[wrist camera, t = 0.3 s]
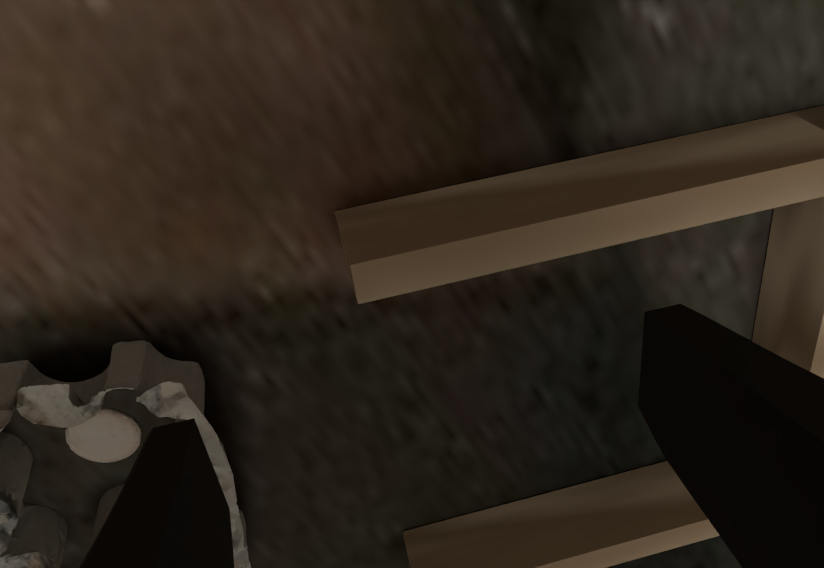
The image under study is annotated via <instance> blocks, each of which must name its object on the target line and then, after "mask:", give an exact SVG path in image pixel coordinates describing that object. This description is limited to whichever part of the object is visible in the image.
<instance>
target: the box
mask: <svg viewBox="0 0 824 568" xmlns="http://www.w3.org/2000/svg"><path fill="white" fill-rule="evenodd" d="M772 208H774V212H773V218H772V224H771V230H770V236H769V242H768V248H767V254H766V260H765V266H764V272H763V278H762V284H761V290H760V296H759V302H758V308H757V314H756V319H755V325H754V331H753V337H752V342H754V343H756V344H758V345H760V346H761V347H763V348H765V349H767V350H769V351H771V352H773V353H775V354H777V355H778V356H780V357H782V358H784V359H786V360H788V361H790V362H792V363H794V364H796V365H798V366H800V367H802V368H804V369H806V370H808V371H810V372H812V373H814V374H816V375H818V376H820V377H822V378H824V105H822V106H818V107H813V108H809V109H804V110H799V111H795V112H790V113H786V114H781V115H776V116H772V117H767V118H762V119H758V120H753V121H749V122H744V123H739V124H735V125H730V126H726V127H721V128H716V129H712V130H707V131H702V132H698V133H693V134H689V135H684V136H679V137H675V138H670V139H666V140H661V141H656V142H652V143H647V144H643V145H638V146H633V147H629V148H624V149H619V150H615V151H610V152H606V153H601V154H596V155H592V156H587V157H583V158H578V159H573V160H569V161H564V162H560V163H555V164H550V165H546V166H541V167H536V168H532V169H527V170H523V171H518V172H513V173H509V174H504V175H500V176H495V177H490V178H486V179H481V180H477V181H472V182H467V183H463V184H458V185H453V186H449V187H444V188H440V189H435V190H430V191H426V192H421V193H417V194H412V195H407V196H403V197H398V198H393V199H389V200H384V201H380V202H375V203H370V204H366V205H361V206H357V207H352V208H347V209H343V210H338V211H335V215H336V220H337V225H338V230H339V234H340V239H341V244H342V248H343V252H344V255H345V259H346V263H347V266H348V270H349V273H350V277H351V281H352V284H353V288H354V291H355V295H356V299H357V302H358V304H362V303H366V302H370V301H375V300H379V299H383V298H388V297H392V296H396V295H401V294H405V293H409V292H414V291H418V290H422V289H426V288H431V287H435V286H439V285H444V284H448V283H452V282H457V281H461V280H465V279H470V278H474V277H478V276H483V275H487V274H491V273H496V272H500V271H504V270H509V269H513V268H517V267H521V266H526V265H530V264H534V263H539V262H543V261H547V260H552V259H556V258H560V257H565V256H569V255H573V254H578V253H582V252H586V251H591V250H595V249H599V248H604V247H608V246H612V245H616V244H621V243H625V242H629V241H634V240H638V239H642V238H647V237H651V236H655V235H660V234H664V233H668V232H673V231H677V230H681V229H686V228H690V227H694V226H699V225H703V224H707V223H711V222H716V221H720V220H724V219H729V218H733V217H737V216H742V215H746V214H750V213H755V212H759V211H763V210H768V209H772ZM403 536H404V541H405V546H406V550H407V554H408V558H409V562H410V566H411V568H606V567H609V566H613V565H617V564H620V563H624V562H627V561H631V560H634V559H638V558H641V557H645V556H648V555H652V554H656V553H659V552H663V551H666V550H670V549H673V548H677V547H680V546H684V545H688V544H691V543H695V542H698V541H702V540H705V539H709V538H712V537H716V536H720V535H719V534H718V532H717V531H716V530H715V528H714V527H713V525H712V524H711V523H710V521H709V520H708V518H707V517H706V516H705V514H704V513H703V511H702V510H701V509H700V507H699V506H698V504H697V503H696V502H695V500H694V499H693V497H692V496H691V494H690V493H689V492H688V490H687V489H686V487H685V486H684V484H683V483H682V482H681V480H680V479H679V477H678V476H677V474H676V473H675V472H674V470H673V469H672V467H671V466H670V464H669V463H668V461H665V462H661V463H657V464H654V465H650V466H646V467H642V468H639V469H635V470H631V471H627V472H624V473H620V474H616V475H613V476H609V477H605V478H601V479H598V480H594V481H590V482H586V483H583V484H579V485H575V486H571V487H568V488H564V489H560V490H556V491H553V492H549V493H545V494H541V495H538V496H534V497H530V498H527V499H523V500H519V501H515V502H512V503H508V504H504V505H500V506H497V507H493V508H489V509H485V510H482V511H478V512H474V513H470V514H467V515H463V516H459V517H456V518H452V519H448V520H444V521H441V522H437V523H433V524H429V525H426V526H422V527H418V528H414V529H411V530H407V531H403Z"/></svg>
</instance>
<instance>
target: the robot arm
mask: <svg viewBox="0 0 824 568" xmlns="http://www.w3.org/2000/svg"><path fill="white" fill-rule="evenodd" d="M638 407H639V409H640V411H641V413H642V415H643V417H644V419H645V421H646V423H647V424H648V426H649V428H650V430H651V432H652V434H653V436H654V438H655V440H656V442H657V444H658V445H659V447H660V449H661V451H662V453H663V454H664V456H665V458H666V460H667V461H668V463H669V464H670V466H671V467H672V469H673V470H674V472H675V473H676V474H677V476H678V477H679V479H680V480H681V482H682V483H683V484H684V486H685V487H686V489H687V490H688V492H689V493H690V494H691V496H692V497H693V499H694V500H695V502H696V503H697V504H698V506H699V507H700V509H701V510H702V511H703V513H704V514H705V516H706V517H707V518H708V520H709V521H710V523H711V524H712V525H713V527H714V528H715V530H716V531H717V532H718V534H719V535H720V537H721V538H722V539H723V541H724V542H725V544H726V545H727V546H728V548H729V549H730V551H731V552H732V553H733V555H734V556H735V558H736V559H737V560H738V562H739V563H740V565H741V566H742V567H743V568H824V378H822V377H820V376H818V375H816V374H814V373H812V372H810V371H808V370H806V369H804V368H802V367H800V366H798V365H796V364H794V363H792V362H790V361H788V360H786V359H784V358H782V357H780V356H778V355H777V354H775V353H773V352H771V351H769V350H767V349H765V348H763V347H761V346H760V345H758V344H756V343H754V342H752V341H750V340H748V339H746V338H745V337H743V336H741V335H739V334H737V333H735V332H733V331H732V330H730V329H728V328H726V327H724V326H722V325H720V324H719V323H717V322H715V321H713V320H711V319H709V318H707V317H705V316H704V315H702V314H700V313H698V312H696V311H694V310H692V309H690V308H688V307H686V306H684V305H682V304H677V305H673V306H669V307H665V308H660V309H656V310H652V311H648V312H645V316H644V330H643V344H642V358H641V373H640V387H639V401H638ZM79 568H234V556H233V542H232V531H231V519H230V508H229V506H228V503H227V501H226V498H225V496H224V493H223V491H222V488H221V485H220V483H219V480H218V478H217V475H216V473H215V470H214V468H213V465H212V462H211V460H210V457H209V455H208V452H207V450H206V447H205V445H204V442H203V439H202V437H201V434H200V432H199V429H198V427H197V424H196V422H195V419H194V418H193V419H189V420H185V421H181V422H176V423H172V424H168V425H164V426H159V427H155V428H153V429H152V430H151V432H150V433H149V435H148V436H147V438H146V441H145V443H144V445H143V447H142V449H141V451H140V453H139V455H138V457H137V459H136V461H135V464H134V466H133V468H132V470H131V472H130V474H129V476H128V478H127V480H126V482H125V484H124V486H123V488H122V490H121V492H120V494H119V496H118V498H117V500H116V502H115V504H114V506H113V508H112V509H111V511H110V513H109V515H108V517H107V519H106V521H105V522H104V524H103V526H102V528H101V530H100V532H99V533H98V535H97V537H96V539H95V541H94V543H93V545H92V546H91V548H90V550H89V552H88V554H87V555H86V557H85V559H84V561H83V562H82V564H81V566H80V567H79Z"/></svg>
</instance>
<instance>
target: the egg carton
mask: <svg viewBox="0 0 824 568" xmlns="http://www.w3.org/2000/svg"><path fill="white" fill-rule="evenodd" d="M122 388H126V389H132V390H134V391H135V394H136V402H141V403H143V404H144V405H145V406H146V407H147V408H148V410H149V411H150V412H152V413H153V414H155V415H156V416H157V417H171V418H174V419H175V423H176V422H181V421H185V420H189V419H193V418H194V419H195V422H196V424H197V427H198V429H199V432H200V434H201V437H202V439H203V442H204V445H205V447H206V450H207V452H208V455H209V457H210V460H211V462H212V465H213V468H214V470H215V473H216V475H217V478H218V480H219V483H220V485H221V488H222V491H223V493H224V496H225V498H226V501H227V503H228V506H229V508H230V519H231V531H232V542H233V556H234V568H251V565H250V561H249V560H248V548H247V541H246V522H245V519H244V515H243V513H242V511H241V510H239V509H238V504H237V498H236V492H235V485H234V478H233V473H232V470H231V468H230V465H229V463H228V460H227V456H226V453H225V450H224V446H223V444H222V442H221V441H219V438H218V436H217V434H216V433H215V431H214V430H213V428H212V426H211V425H210V423H209V422H208V421H207V419H206V418H205V417H204V400H205V382H204V376H203V373H202V370H201V368H200V366H199V364H198V363H197V362H193V361H179V360H173V359H170V358H168V357H165V356H164V355H163V354H161V353H160V352H158V351H157V350H156V349H155V348H154V347H153V346H152V345H151V343H150V342H147V341H144V340H140V341H131V342H118V343H116V344H114V345H113V346H112V352H111V359H110V364H109V366H108V368H107V369H106V370H105V371H104V372H103V373H101V374H99V375H97V376H96V377H94V378H91V379H88V380H86V381H81V382H62V381H58V380H54V379H51V378H49V377H46V376H45V375H43V374H42V373H40V372H39V371H38V370H37V369H36V368H35V367H34V366H33V365H32V364H31V363H30V362H29V361H28V360H21V361H14V362H9V363H1V364H0V568H60V566H61V561H62V557H63V552H64V547H65V543H66V538H67V534H68V527H67V522H66V520H65V519H64V517H63V516H62V515H61V514H59V513H58V512H57V511H55V510H53V509H51V508H49V507H45V506H40V505H31V504H24V503H23V501H22V500H23V497H24V494H25V490H26V487H27V484H28V480H29V475H30V471H31V466H32V462H33V456H32V452H31V450H30V448H29V447H28V446H27V444H25V443H24V442H23V441H22V440H21V439H20V438H18V437H16V436H14V435H12V434H10V433H6V432H1V431H2V430H3V429H4V428H5V427H6V425H7V424H8V423H9V422H10V419H11V417H12V415H13V412H14V410H15V409H17V411H18V412H19V413H20V415H21V416H22V417H24V418H25V419H27V420H29V421H30V422H32V423H34V424H40V425H47V426H54V427H67V428H66V430H65V435H66V442H67V444H68V445H69V446H70V449H71V450H72V451H74V453H75V454H77V455H79V456H81V457H83V458H84V459H87V460H91V461H95V462H101V463H107V462H115V461H119V460H122V459H124V458H126V457H128V456H130V455H131V454H133V453H134V452H135V451H136V449H137V448H138V447H139V445H140V441H141V435H142V432H141V428H140V425H139V424H138V422H137V421H136V420H135V419H134V418H133V417H131V416H130V415H128V414H126V413H124V412H122V411H119V410H116V409H113V408H106V407H102V405H103V400H104V396H105V393H106V392H108V391H110V390H112V389H122ZM101 407H102V408H101ZM123 486H124V484H122V485H119V486H116V487H114V488H112V489H110V490H108V491H107V492H106V493H105V494H104V495H103V496H102V497H101V499H100V502H99V505H98V510H97V514H96V518H95V523H94V528H93V534H92V539H91V544H90V548H91V546H92V545H93V543H94V541H95V539H96V537H97V535H98V533H99V532H100V530H101V528H102V526H103V524H104V522H105V521H106V519H107V517H108V515H109V513H110V511H111V509H112V508H113V506H114V504H115V502H116V500H117V498H118V496H119V494H120V492H121V490H122V488H123Z"/></svg>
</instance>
